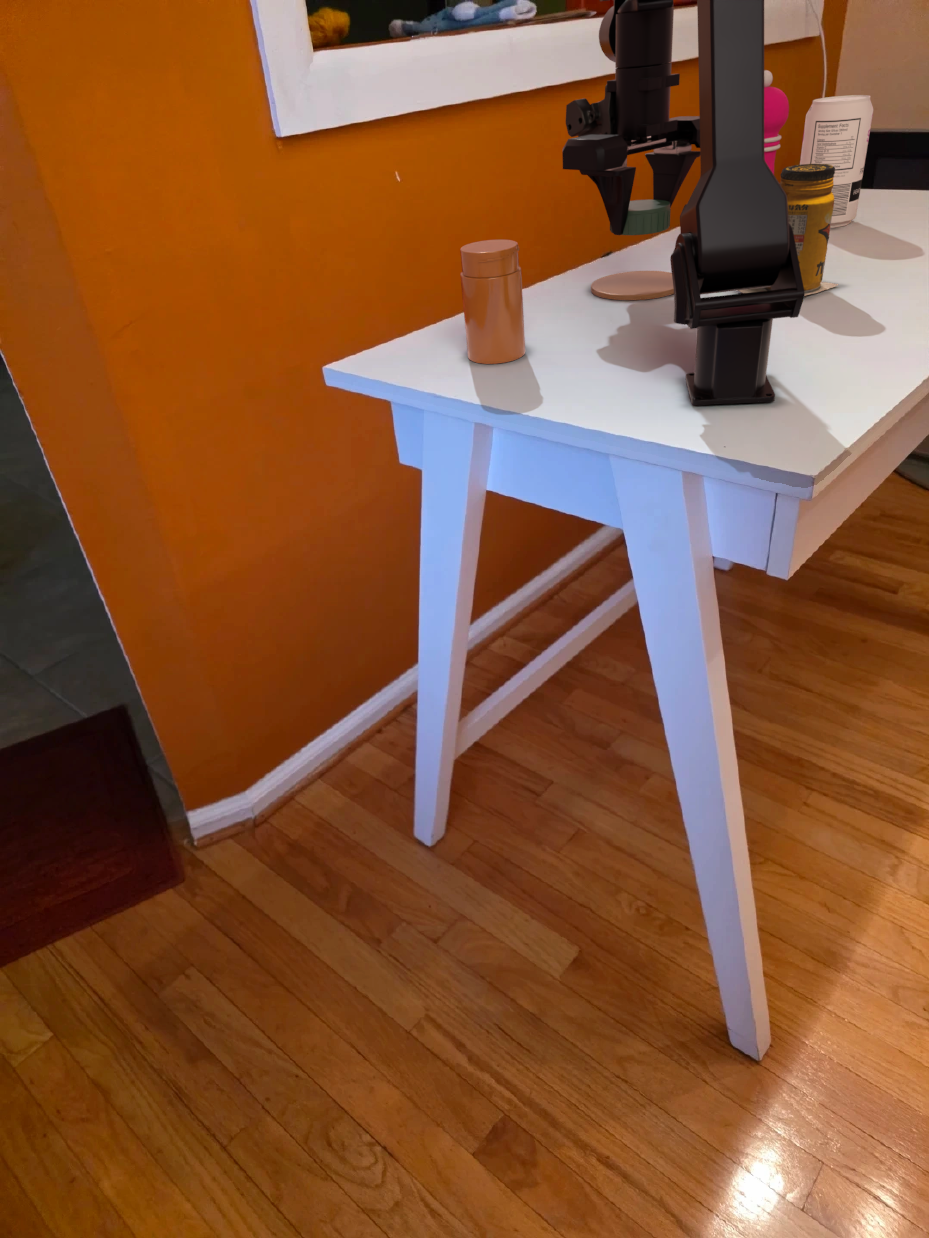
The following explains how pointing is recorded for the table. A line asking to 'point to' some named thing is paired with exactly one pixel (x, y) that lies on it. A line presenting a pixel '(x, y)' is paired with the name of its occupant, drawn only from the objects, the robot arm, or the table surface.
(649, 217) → the jam lid
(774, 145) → the pink bowling pin
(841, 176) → the supplement can
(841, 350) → the table surface
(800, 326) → the table surface
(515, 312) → the jam jar
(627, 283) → the coaster
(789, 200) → the condiment
